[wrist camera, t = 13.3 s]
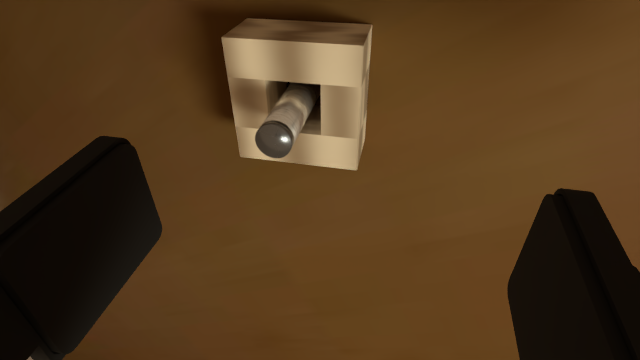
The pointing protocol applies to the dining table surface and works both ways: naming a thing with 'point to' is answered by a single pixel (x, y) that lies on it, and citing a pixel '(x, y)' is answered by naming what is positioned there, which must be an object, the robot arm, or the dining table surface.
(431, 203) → the dining table surface
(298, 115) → the peg
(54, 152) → the dining table surface
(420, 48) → the dining table surface
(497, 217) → the dining table surface
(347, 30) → the square wooden hole block
